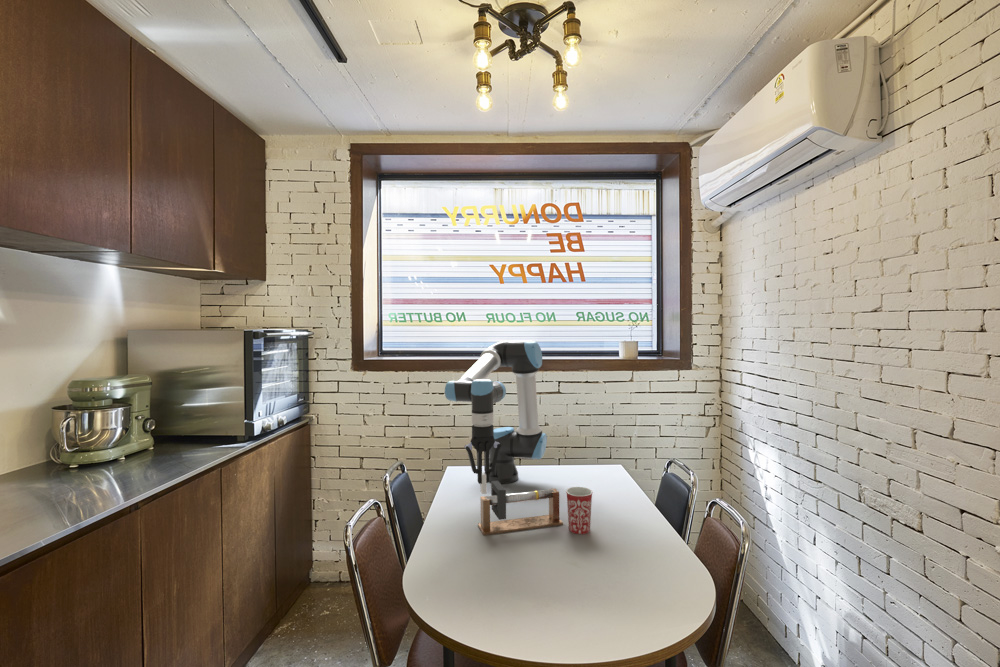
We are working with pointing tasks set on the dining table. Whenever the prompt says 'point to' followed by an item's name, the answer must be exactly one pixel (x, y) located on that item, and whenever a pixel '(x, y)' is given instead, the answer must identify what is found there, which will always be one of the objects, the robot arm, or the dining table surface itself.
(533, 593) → the dining table surface
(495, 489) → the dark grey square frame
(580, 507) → the mug
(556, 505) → the pipe rig
